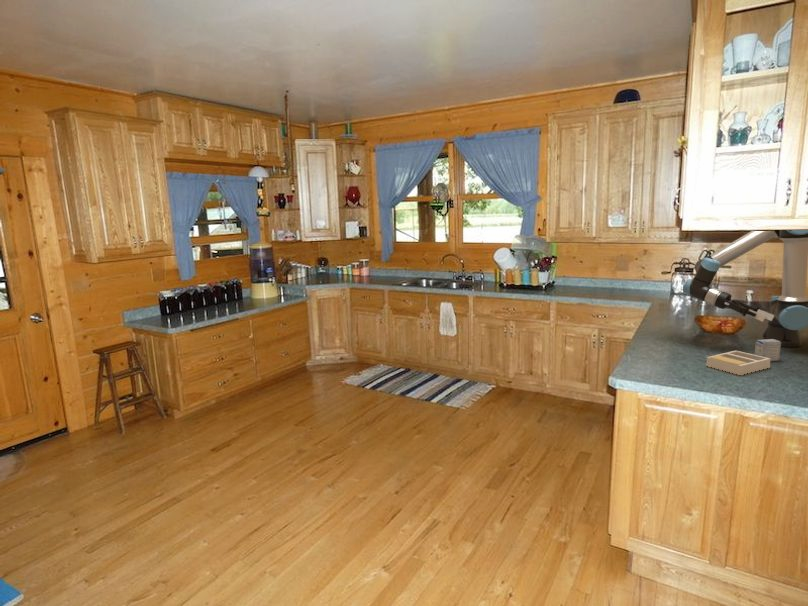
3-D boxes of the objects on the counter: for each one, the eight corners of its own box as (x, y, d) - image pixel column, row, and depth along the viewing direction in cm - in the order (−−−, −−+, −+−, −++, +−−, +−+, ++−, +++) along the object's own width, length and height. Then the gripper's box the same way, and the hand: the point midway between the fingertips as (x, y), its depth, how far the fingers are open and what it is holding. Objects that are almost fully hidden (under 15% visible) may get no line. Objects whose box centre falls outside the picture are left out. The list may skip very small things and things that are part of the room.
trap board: (735, 359, 215) (736, 349, 214) (769, 367, 202) (770, 357, 201) (706, 366, 207) (706, 356, 206) (740, 375, 194) (741, 365, 194)
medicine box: (771, 358, 215) (773, 338, 213) (779, 361, 210) (781, 341, 209) (753, 358, 214) (755, 339, 213) (761, 361, 210) (763, 342, 208)
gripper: (723, 305, 237) (772, 325, 223) (705, 305, 221) (756, 327, 206) (731, 291, 235) (780, 310, 220) (713, 290, 219) (765, 311, 204)
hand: (769, 318), depth 213 cm, fingers open, 13 cm apart
